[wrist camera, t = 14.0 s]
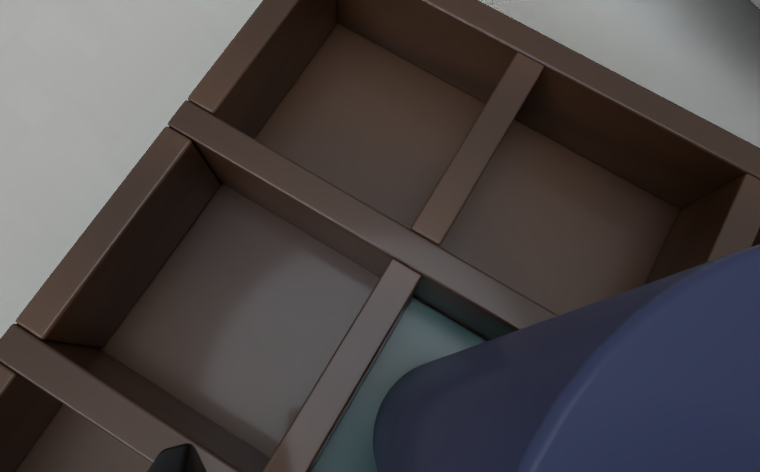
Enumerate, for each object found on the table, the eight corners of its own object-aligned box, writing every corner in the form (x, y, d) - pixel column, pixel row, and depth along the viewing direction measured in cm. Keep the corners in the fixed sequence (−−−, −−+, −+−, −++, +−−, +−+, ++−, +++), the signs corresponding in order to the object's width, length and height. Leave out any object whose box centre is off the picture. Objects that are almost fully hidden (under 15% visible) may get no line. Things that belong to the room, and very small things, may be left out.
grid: (628, 1119, 12) (736, 1411, 8) (-97, 586, 14) (-244, 651, 10) (901, 312, 17) (1040, 293, 13) (331, 3, 19) (324, -82, 15)
